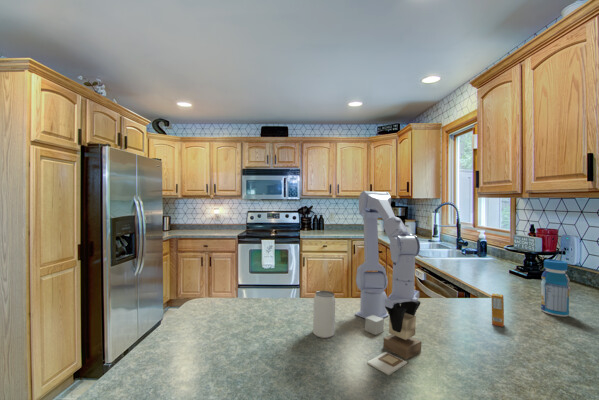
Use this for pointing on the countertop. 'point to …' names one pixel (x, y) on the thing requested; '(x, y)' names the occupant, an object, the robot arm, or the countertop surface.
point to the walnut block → (402, 346)
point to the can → (324, 314)
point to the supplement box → (497, 310)
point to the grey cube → (374, 324)
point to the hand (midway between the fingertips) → (402, 328)
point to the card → (387, 363)
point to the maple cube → (405, 327)
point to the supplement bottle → (555, 288)
